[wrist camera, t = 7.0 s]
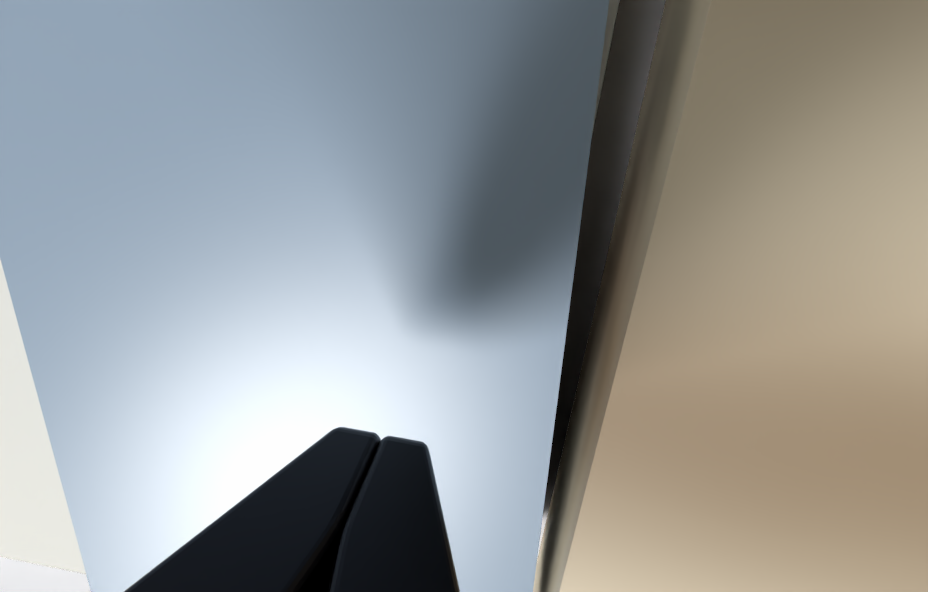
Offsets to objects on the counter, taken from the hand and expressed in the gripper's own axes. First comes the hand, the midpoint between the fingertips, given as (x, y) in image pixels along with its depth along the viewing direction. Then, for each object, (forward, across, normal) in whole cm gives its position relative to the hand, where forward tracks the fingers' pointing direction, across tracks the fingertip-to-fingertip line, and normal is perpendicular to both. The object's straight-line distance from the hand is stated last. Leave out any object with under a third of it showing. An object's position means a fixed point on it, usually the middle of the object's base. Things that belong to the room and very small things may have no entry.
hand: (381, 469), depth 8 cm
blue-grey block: (+3, +2, 0) cm, 4 cm away
